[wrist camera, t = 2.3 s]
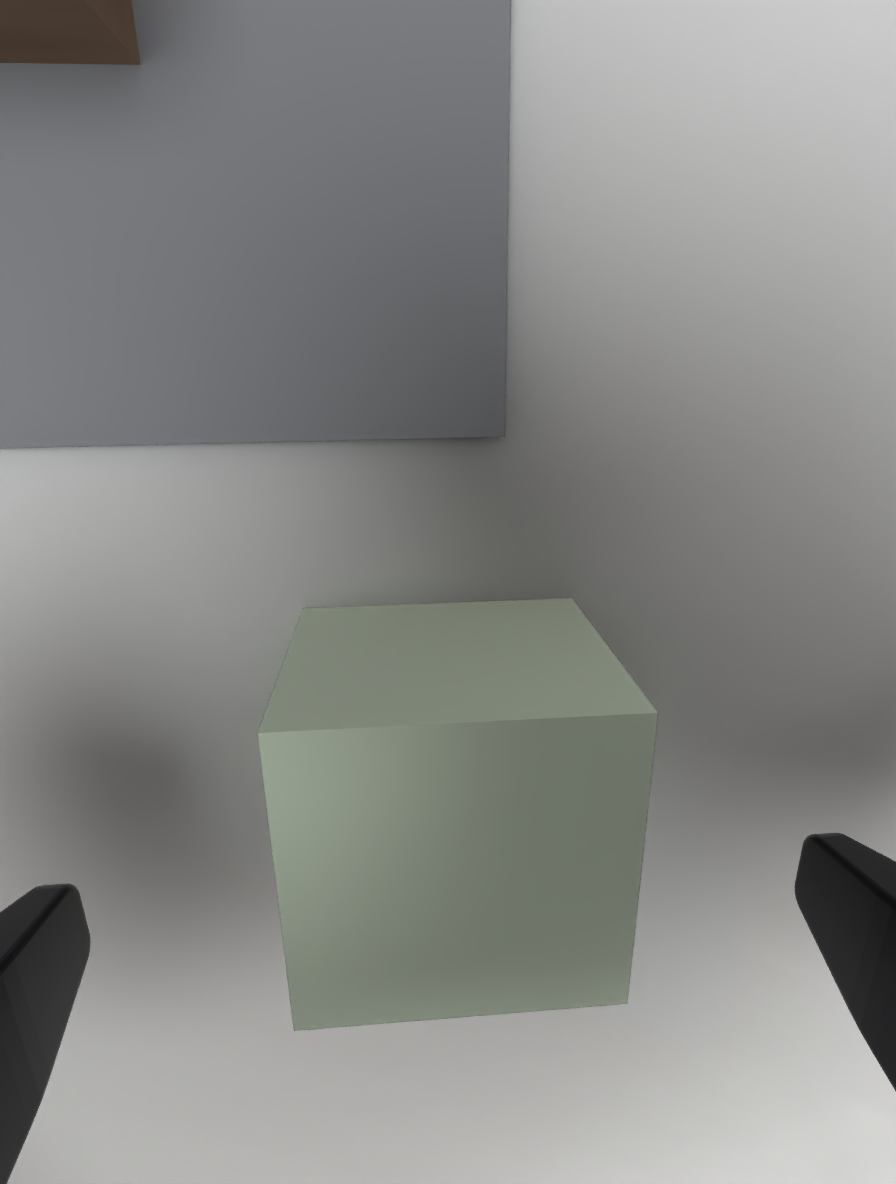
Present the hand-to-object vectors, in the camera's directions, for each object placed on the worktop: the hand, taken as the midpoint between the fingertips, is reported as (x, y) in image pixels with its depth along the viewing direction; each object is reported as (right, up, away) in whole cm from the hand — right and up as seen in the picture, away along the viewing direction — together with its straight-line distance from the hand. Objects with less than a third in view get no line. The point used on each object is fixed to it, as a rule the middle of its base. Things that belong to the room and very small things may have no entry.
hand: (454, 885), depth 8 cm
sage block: (0, +1, +4) cm, 4 cm away
